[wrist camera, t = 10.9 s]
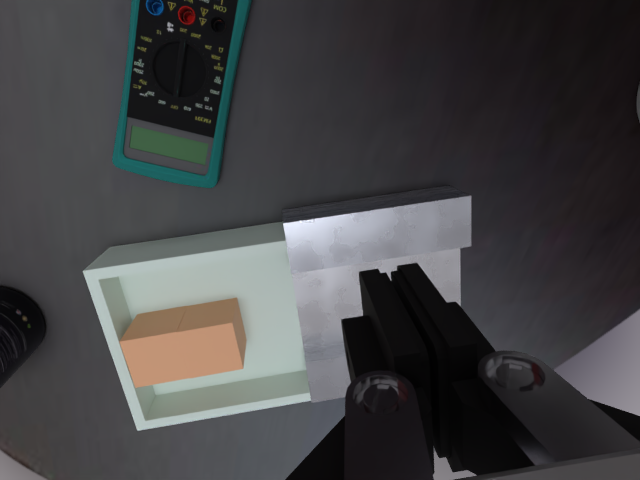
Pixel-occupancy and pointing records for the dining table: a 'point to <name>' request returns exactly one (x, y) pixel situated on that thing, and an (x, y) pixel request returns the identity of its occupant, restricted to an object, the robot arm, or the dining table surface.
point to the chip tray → (202, 287)
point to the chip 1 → (154, 347)
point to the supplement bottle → (17, 331)
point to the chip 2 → (212, 338)
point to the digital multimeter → (179, 88)
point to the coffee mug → (638, 102)
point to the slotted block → (366, 263)
